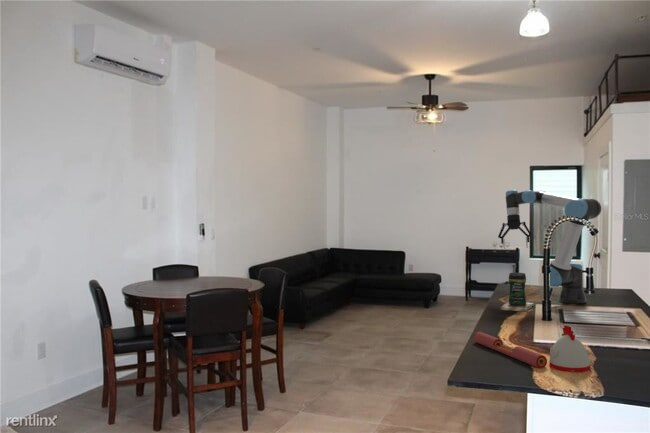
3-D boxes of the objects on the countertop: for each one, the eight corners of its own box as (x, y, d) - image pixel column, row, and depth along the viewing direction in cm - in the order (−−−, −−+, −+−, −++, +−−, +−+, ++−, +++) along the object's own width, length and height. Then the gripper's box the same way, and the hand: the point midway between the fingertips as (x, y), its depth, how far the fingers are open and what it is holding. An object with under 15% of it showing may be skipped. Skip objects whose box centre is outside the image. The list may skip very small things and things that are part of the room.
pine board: (533, 305, 329) (533, 302, 329) (526, 311, 312) (526, 308, 312) (509, 303, 337) (509, 301, 337) (500, 309, 320) (500, 306, 320)
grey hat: (579, 360, 215) (578, 321, 215) (597, 371, 201) (596, 329, 201) (543, 362, 215) (542, 323, 214) (559, 373, 201) (558, 331, 201)
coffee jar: (507, 305, 323) (507, 273, 323) (510, 303, 330) (509, 271, 330) (525, 306, 319) (525, 273, 318) (527, 304, 326) (526, 272, 326)
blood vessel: (473, 343, 247) (473, 332, 247) (483, 342, 248) (483, 331, 248) (536, 369, 207) (535, 356, 207) (547, 368, 208) (547, 354, 208)
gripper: (534, 214, 356) (537, 247, 353) (493, 217, 365) (495, 249, 362) (534, 212, 349) (536, 246, 346) (492, 215, 358) (494, 249, 355)
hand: (515, 248), depth 354 cm, fingers open, 13 cm apart
